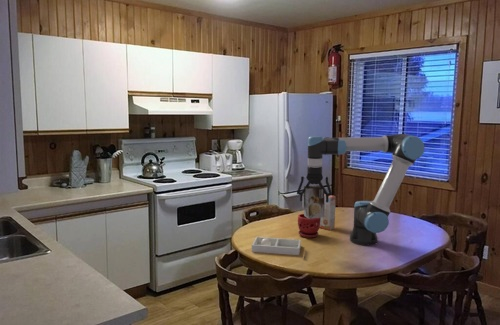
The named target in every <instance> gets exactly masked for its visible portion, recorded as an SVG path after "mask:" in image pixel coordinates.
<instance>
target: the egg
mask: <svg viewBox="0 0 500 325" xmlns="http://www.w3.org/2000/svg"><path fill="white" fill-rule="evenodd" d="M267 238H268V237H266V238H264V239H262V241H261V245H265V246H270V244H271V242H270V240H269V239H267Z"/></svg>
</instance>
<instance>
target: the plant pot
mask: <svg viewBox="0 0 500 325" xmlns="http://www.w3.org/2000/svg"><path fill="white" fill-rule="evenodd" d="M320 219H321V218H311V219H308V218H307V217H305V216H304V213H300V214H298V216H297V226H298V229H299V231H298V234H299V236H300V237H302V238H306V239H308V238H315V237H317V236H319V232H318V231H319V229H320V228H319V227H320ZM316 223H317V225H316Z"/></svg>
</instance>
